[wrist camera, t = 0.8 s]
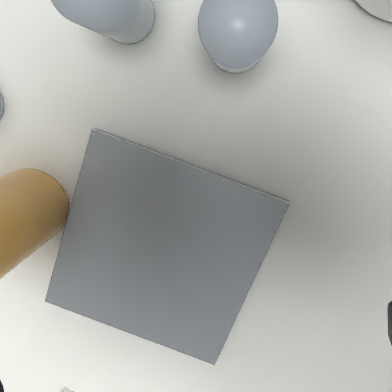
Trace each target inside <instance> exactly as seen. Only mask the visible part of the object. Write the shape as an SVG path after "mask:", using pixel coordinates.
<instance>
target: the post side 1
mask: <svg viewBox="0 0 392 392" xmlns="http://www.w3.org/2000/svg"><path fill="white" fill-rule="evenodd" d="M51 1H52V3H53V5H54V6H55V8H56V9H57V10H58V11H59V12H60V13H61V14H62V15H63V16H64V17H65V18H67V19H68V20H70V21H72V22H74V23H76V24H79V25H81V26H83V27H86V28H88V29H90V30H92V31H95V32H97V33H99V34H102V35H104V36H106V37H108V38H111V39H113V40H115V41H118V42H120V43H123V44H133V43H137V42H139V41H141V40H142V39H144V38H145V37H146V36H147V35H148V34H149V32H150V31H151V29H152V27H153V24H154V19H155V9H154V5H153V2H152V0H51Z"/></svg>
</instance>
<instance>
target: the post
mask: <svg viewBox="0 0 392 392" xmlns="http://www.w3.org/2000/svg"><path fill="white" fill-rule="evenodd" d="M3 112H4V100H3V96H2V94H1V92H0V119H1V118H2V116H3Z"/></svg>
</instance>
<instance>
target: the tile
mask: <svg viewBox="0 0 392 392" xmlns="http://www.w3.org/2000/svg"><path fill="white" fill-rule="evenodd" d="M288 205H289V203H288V201H286V200H284V199H281V198H278V197H276V196H273V195H270V194H268V193H265V192H262V191H260V190H257V189H255V188H252V187H249V186H247V185H244V184H241V183H239V182H236V181H233V180H231V179H228V178H225V177H223V176H220V175H218V174H215V173H212V172H210V171H207V170H204V169H202V168H199V167H196V166H194V165H191V164H188V163H186V162H183V161H180V160H178V159H175V158H173V157H170V156H167V155H165V154H162V153H159V152H157V151H154V150H151V149H149V148H146V147H143V146H141V145H138V144H136V143H133V142H130V141H128V140H125V139H122V138H120V137H117V136H114V135H112V134H109V133H106V132H104V131H101V130H98V129H96V128H95V129H92V131H91V135H90V138H89V142H88V146H87V149H86V153H85V157H84V160H83V164H82V168H81V171H80V175H79V179H78V182H77V186H76V189H75V193H74V197H73V200H72V204H71V208H70V211H69V215H68V219H67V222H66V226H65V230H64V233H63V237H62V241H61V244H60V248H59V252H58V255H57V259H56V262H55V266H54V270H53V273H52V277H51V281H50V284H49V288H48V292H47V295H46V299H45V302H48V303H51V304H53V305H56V306H59V307H61V308H64V309H67V310H69V311H72V312H75V313H77V314H80V315H83V316H85V317H88V318H91V319H93V320H96V321H99V322H101V323H104V324H107V325H109V326H112V327H115V328H117V329H120V330H123V331H125V332H128V333H131V334H133V335H136V336H139V337H141V338H144V339H147V340H149V341H152V342H155V343H157V344H160V345H163V346H165V347H168V348H171V349H173V350H176V351H179V352H182V353H184V354H187V355H190V356H192V357H195V358H198V359H200V360H203V361H206V362H208V363H211V364H214V365H215V363H216V361H217V358H218V356H219V354H220V352H221V350H222V348H223V346H224V343H225V341H226V339H227V337H228V335H229V333H230V330H231V328H232V326H233V324H234V322H235V320H236V317H237V315H238V313H239V311H240V309H241V307H242V304H243V302H244V300H245V298H246V296H247V294H248V292H249V289H250V287H251V285H252V283H253V281H254V279H255V276H256V274H257V272H258V270H259V268H260V266H261V263H262V261H263V259H264V257H265V255H266V253H267V250H268V248H269V246H270V244H271V242H272V240H273V238H274V235H275V233H276V231H277V229H278V227H279V225H280V222H281V220H282V218H283V216H284V214H285V212H286V209H287V207H288Z"/></svg>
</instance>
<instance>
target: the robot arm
mask: <svg viewBox="0 0 392 392" xmlns="http://www.w3.org/2000/svg"><path fill="white" fill-rule="evenodd" d="M388 335H389V339H390V342H391V345H392V301H391V302H390V303H389V304H388ZM0 392H4V388H3V385H2V383H1V381H0Z"/></svg>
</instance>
